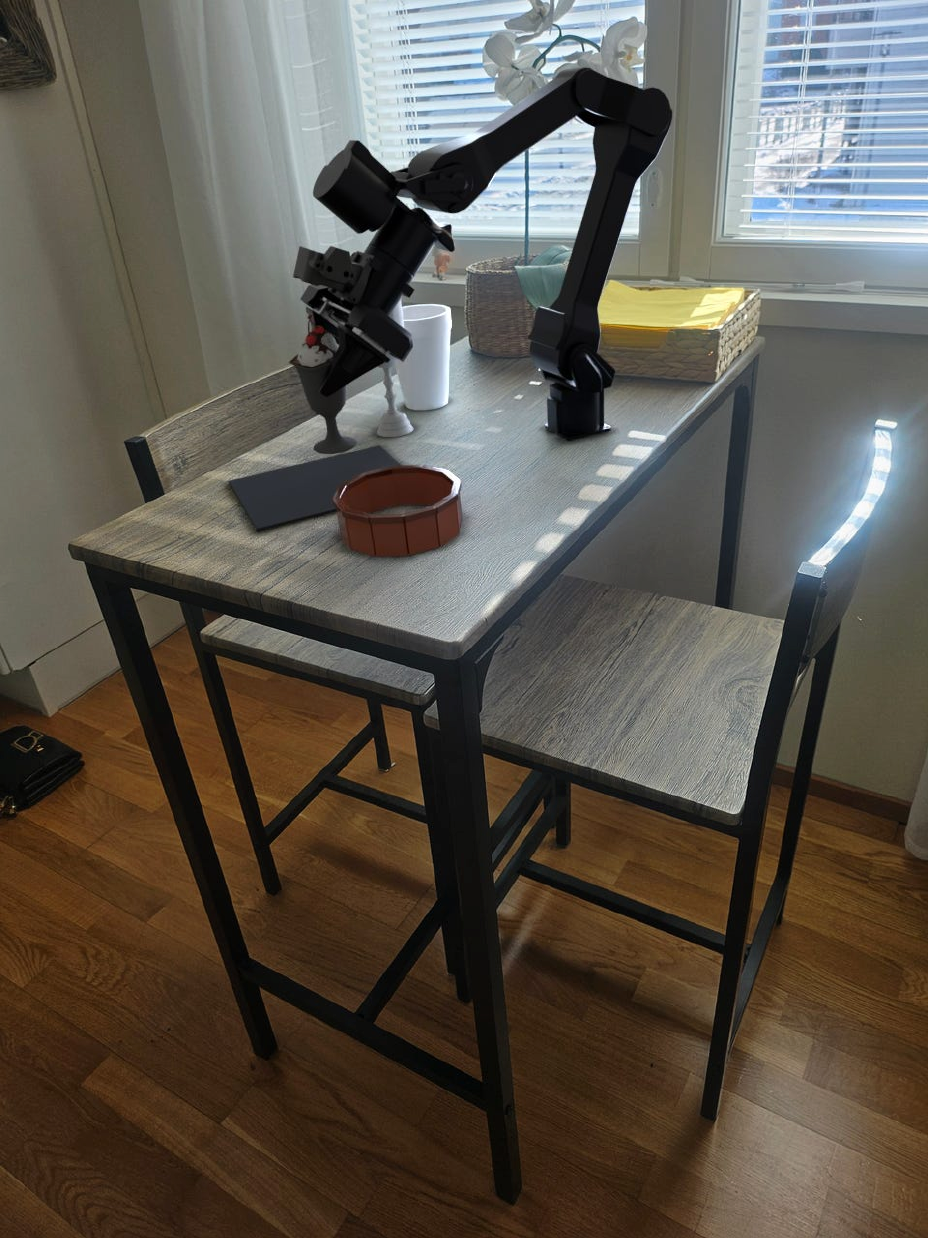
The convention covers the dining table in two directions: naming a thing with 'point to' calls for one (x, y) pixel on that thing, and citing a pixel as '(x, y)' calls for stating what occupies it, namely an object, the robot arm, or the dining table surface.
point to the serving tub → (401, 529)
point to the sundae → (312, 372)
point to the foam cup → (426, 357)
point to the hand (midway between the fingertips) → (312, 387)
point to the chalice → (393, 394)
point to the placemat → (303, 487)
